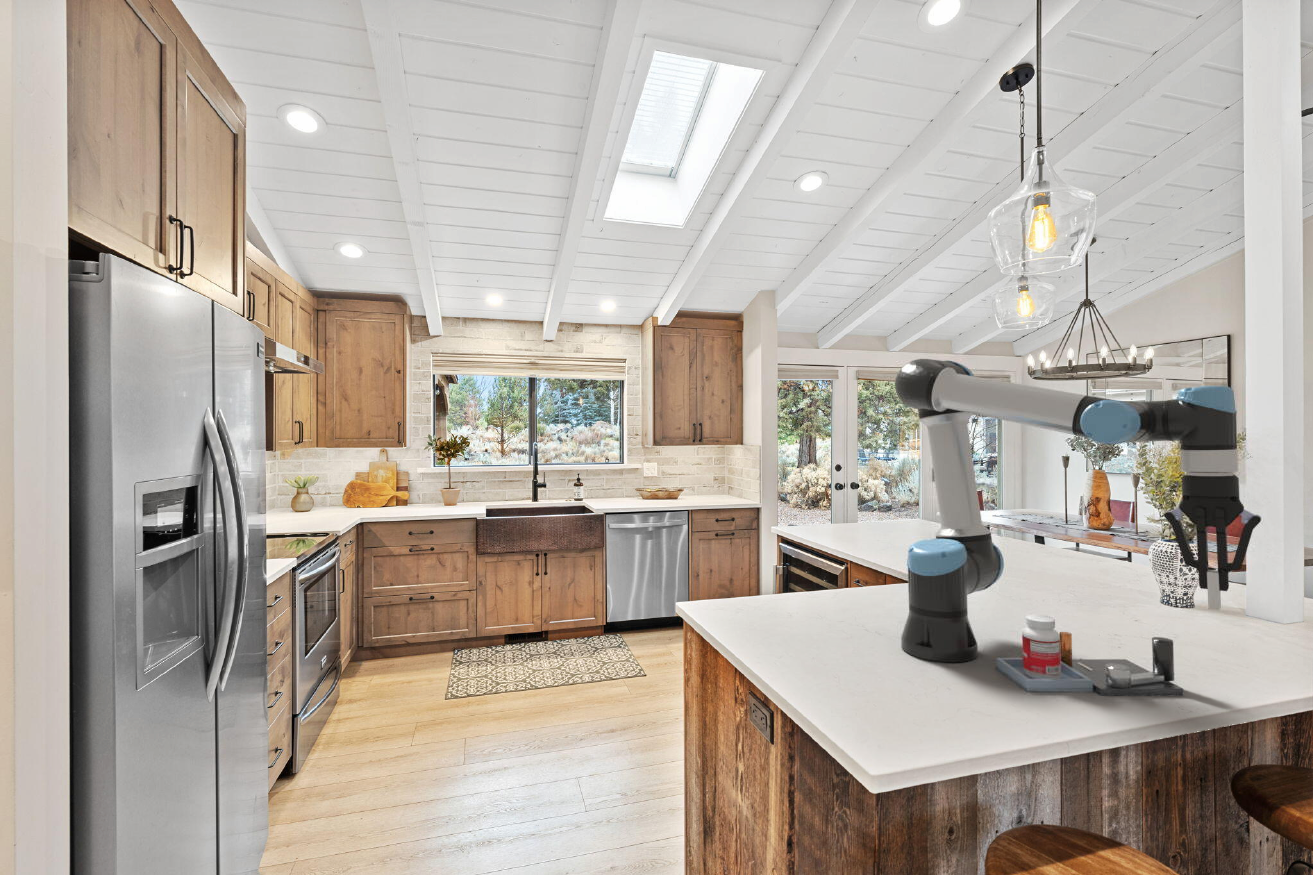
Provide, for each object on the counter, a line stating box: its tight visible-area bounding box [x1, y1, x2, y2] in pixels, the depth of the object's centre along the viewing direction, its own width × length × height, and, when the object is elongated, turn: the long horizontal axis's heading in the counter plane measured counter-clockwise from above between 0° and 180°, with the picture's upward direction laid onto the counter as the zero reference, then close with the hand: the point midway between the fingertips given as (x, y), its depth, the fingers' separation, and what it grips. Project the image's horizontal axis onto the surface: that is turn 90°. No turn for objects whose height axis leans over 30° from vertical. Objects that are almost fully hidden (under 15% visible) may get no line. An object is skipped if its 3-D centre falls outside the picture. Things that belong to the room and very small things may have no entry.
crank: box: [1106, 636, 1175, 688], centre depth 112 cm, size 13×4×7 cm, turn 102°
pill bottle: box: [1021, 614, 1061, 679], centre depth 118 cm, size 6×6×11 cm
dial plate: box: [1058, 631, 1184, 697], centre depth 117 cm, size 14×14×7 cm
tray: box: [995, 657, 1094, 693], centre depth 118 cm, size 12×12×2 cm
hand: (1214, 608), depth 108 cm, fingers closed
